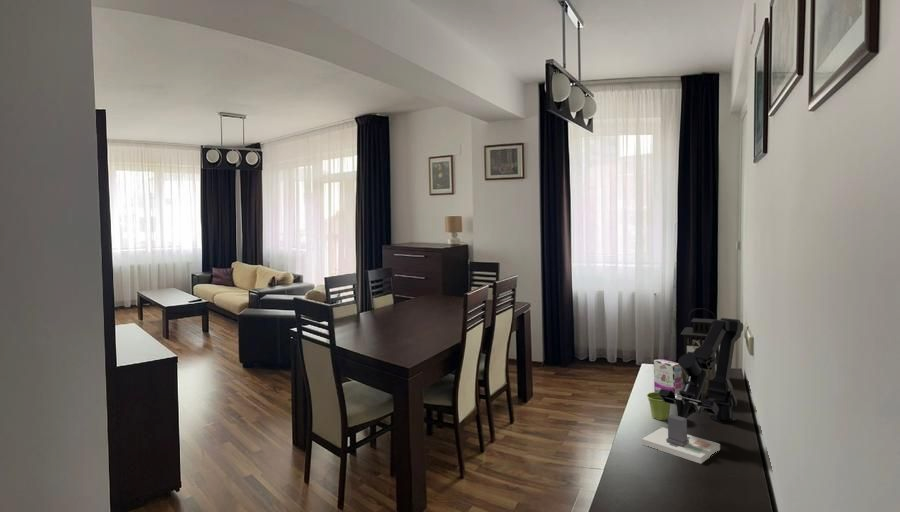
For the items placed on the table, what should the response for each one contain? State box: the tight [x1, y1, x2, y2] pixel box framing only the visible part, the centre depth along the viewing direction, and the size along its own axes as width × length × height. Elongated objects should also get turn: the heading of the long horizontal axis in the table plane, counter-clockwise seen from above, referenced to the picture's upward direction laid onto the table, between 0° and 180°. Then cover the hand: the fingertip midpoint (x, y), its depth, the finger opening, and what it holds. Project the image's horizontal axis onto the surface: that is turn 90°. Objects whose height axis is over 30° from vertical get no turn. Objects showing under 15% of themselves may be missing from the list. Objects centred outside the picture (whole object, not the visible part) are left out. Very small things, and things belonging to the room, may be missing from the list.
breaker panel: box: [641, 426, 721, 465], centre depth 169 cm, size 14×20×2 cm
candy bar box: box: [653, 358, 683, 405], centre depth 213 cm, size 11×5×16 cm, turn 23°
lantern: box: [680, 307, 720, 368], centre depth 236 cm, size 17×17×35 cm
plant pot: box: [646, 391, 671, 421], centre depth 194 cm, size 9×9×9 cm
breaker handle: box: [666, 414, 689, 447], centre depth 167 cm, size 4×6×8 cm
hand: (679, 422), depth 168 cm, fingers closed, pressing on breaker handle
